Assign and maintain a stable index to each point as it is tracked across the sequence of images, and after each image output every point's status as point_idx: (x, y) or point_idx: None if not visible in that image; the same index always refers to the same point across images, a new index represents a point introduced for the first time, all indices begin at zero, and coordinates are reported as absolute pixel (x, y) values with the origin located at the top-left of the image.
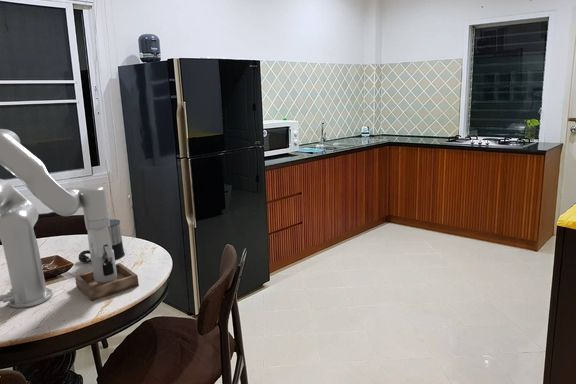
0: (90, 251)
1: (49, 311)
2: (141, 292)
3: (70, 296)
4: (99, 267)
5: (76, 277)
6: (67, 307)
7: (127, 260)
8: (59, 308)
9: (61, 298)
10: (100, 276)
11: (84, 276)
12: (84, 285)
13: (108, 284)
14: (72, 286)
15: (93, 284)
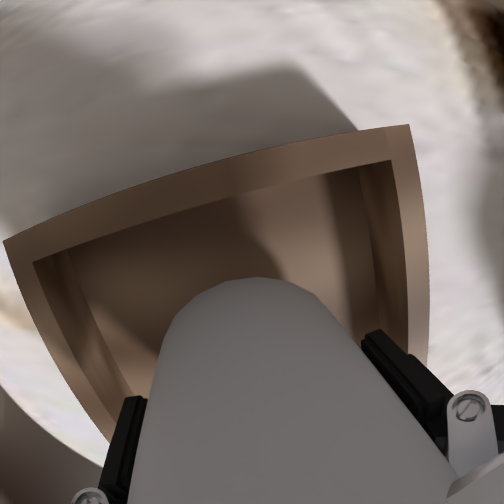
0: (496, 497)
1: (66, 6)
2: (84, 442)
3: (207, 83)
4: (140, 438)
5: (371, 130)
6: (48, 85)
7: (481, 386)
8: (64, 44)
9: (209, 33)
10: (159, 361)
11: (388, 200)
12: (116, 193)
13: (62, 373)
14: (378, 112)
15: (288, 249)
